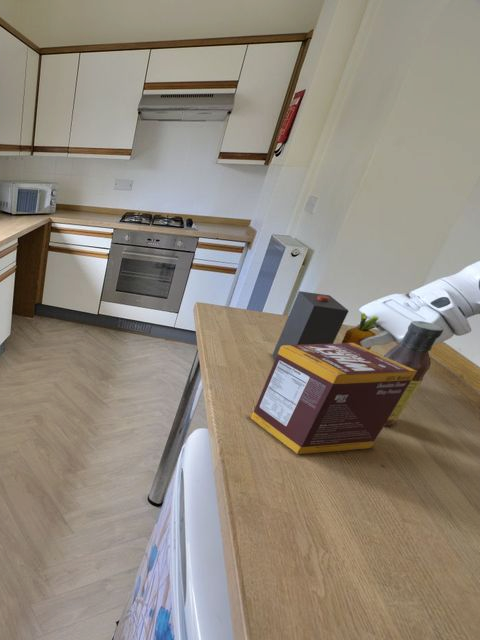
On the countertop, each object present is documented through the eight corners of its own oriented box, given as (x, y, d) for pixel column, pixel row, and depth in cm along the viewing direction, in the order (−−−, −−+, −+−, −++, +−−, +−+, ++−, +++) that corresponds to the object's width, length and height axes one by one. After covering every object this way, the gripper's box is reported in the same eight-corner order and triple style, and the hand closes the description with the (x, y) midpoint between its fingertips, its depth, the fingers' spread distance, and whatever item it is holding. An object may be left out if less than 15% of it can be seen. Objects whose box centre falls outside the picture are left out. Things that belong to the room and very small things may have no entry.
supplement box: (372, 448, 71) (419, 370, 64) (297, 455, 68) (338, 374, 61) (317, 413, 80) (353, 341, 73) (249, 418, 77) (280, 344, 71)
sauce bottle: (353, 404, 84) (403, 314, 75) (395, 418, 80) (452, 324, 71) (350, 416, 79) (402, 323, 71) (393, 432, 75) (454, 334, 67)
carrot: (326, 367, 97) (354, 308, 91) (353, 374, 94) (384, 314, 88) (328, 375, 93) (357, 314, 87) (356, 382, 91) (388, 320, 84)
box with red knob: (357, 371, 97) (395, 300, 89) (379, 393, 88) (422, 317, 80) (272, 355, 103) (300, 287, 95) (283, 374, 94) (315, 301, 86)
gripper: (401, 280, 91) (329, 313, 99) (458, 308, 74) (366, 346, 82) (416, 302, 92) (344, 333, 99) (477, 335, 75) (384, 370, 82)
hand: (354, 339), depth 90 cm, fingers closed on carrot, 5 cm apart
